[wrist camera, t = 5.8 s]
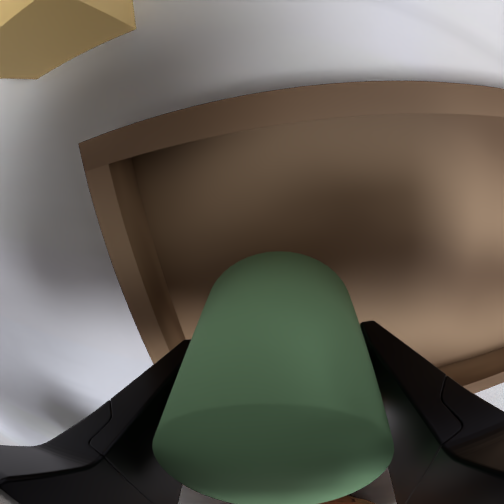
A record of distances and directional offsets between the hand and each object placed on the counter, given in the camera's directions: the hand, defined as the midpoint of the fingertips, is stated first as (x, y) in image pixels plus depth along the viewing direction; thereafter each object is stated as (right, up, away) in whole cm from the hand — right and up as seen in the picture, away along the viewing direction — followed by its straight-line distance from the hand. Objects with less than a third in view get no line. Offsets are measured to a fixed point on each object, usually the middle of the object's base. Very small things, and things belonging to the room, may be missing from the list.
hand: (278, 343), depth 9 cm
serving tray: (+5, +2, +3) cm, 6 cm away
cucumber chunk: (0, +1, +1) cm, 1 cm away
